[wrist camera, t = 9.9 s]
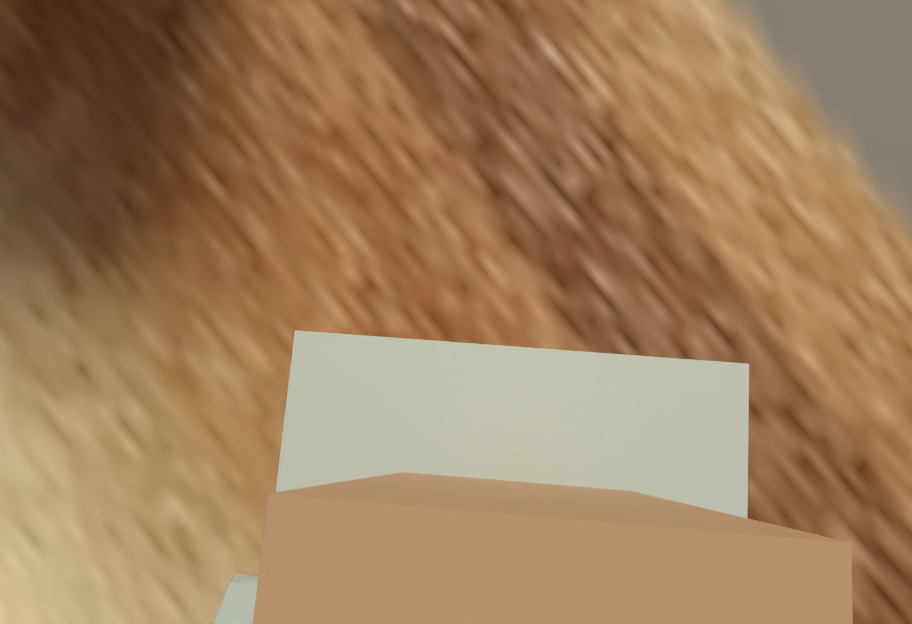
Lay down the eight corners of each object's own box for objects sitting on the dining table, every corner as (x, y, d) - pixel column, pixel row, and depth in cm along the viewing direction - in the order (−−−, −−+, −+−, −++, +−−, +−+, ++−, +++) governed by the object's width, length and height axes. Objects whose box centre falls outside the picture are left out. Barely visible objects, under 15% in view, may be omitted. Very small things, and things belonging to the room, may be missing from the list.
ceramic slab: (710, 822, 19) (743, 877, 16) (267, 775, 19) (236, 821, 17) (718, 374, 21) (749, 363, 18) (317, 345, 21) (294, 330, 19)
